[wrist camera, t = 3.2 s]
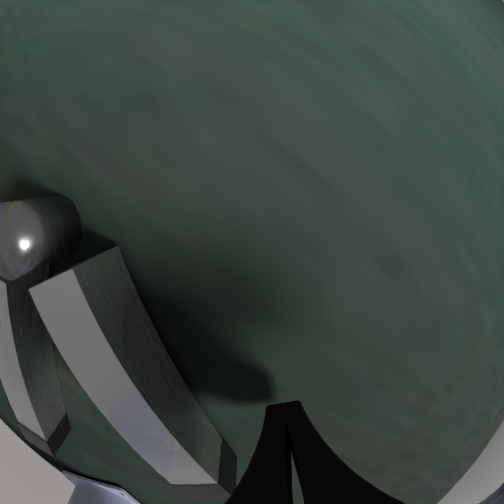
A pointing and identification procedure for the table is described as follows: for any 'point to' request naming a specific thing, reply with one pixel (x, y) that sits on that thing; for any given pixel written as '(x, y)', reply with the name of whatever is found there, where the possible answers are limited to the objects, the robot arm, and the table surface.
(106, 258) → the bar
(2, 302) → the tongs fixed arm
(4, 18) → the table surface
